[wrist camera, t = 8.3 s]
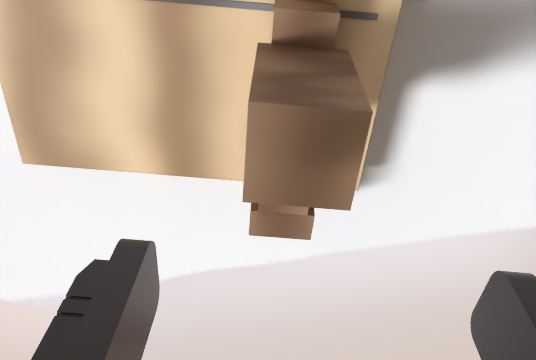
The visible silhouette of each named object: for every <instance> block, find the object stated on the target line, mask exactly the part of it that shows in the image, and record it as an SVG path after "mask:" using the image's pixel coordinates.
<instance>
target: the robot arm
mask: <svg viewBox="0 0 536 360" xmlns="http://www.w3.org/2000/svg"><path fill="white" fill-rule="evenodd" d="M158 299H159V276H158V266H157V256H156V247H155V243H154V242H153V241H143V240H131V239H121V240H120V241H119V242H118V244H117V245H116V248H115V250H114V252H113V254H112V256H111V258H110V260H109V261H108V260H96V259H95V260H94V261H93V262H91V263H90V264H89V265H88V266H87V267H86V268H85V269H84V270H82V271H81V272H80V273H79V274H78V275H77V276H76V278H75V280H74V281H73V283H72V285H71V287H70V289H69V291H68V293H67V294H66V299H64V300H63V302H62V304H61V305H60V307H59V309H58V311H57V316H55V317H54V319H53V320H52V322H51V324H50V326H49V328H48V330H47V331H46V333H45V335H44V337H43V339H42V340H41V342H40V344H39V346H38V348H37V350H36V352H35V353H34V355H33V357H32V359H31V360H141V358H142V355H143V352H144V348H145V345H146V342H147V339H148V336H149V333H150V329H151V326H152V323H153V320H154V317H155V313H156V310H157V305H158ZM471 333H472V337H473V340H474V342H475V345H476V347H477V350H478V352H479V355H480V357H481V360H536V277H535V276H534V275H533V274H529V273H518V272H506V271H496V272H494V273H493V274H492V276H491V277H490V279H489V281H488V283H487V285H486V287H485V289H484V291H483V293H482V295H481V297H480V299H479V301H478V303H477V305H476V307H475V309H474V310H473V313H472V317H471Z"/></svg>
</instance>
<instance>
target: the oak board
mask: <svg viewBox="0 0 536 360" xmlns="http://www.w3.org/2000/svg"><path fill="white" fill-rule="evenodd" d="M304 1H316V2H327V3H336V5H337V7H338V10H339V12H340V19H339V25H338V31H337V38H336V44H335V49H341V50H348V51H349V54H350V56H351V59H352V61H353V64H354V66H355V69H356V71H357V74H358V76H359V79H360V81H361V84H362V86H363V89H364V91H365V94H366V96H367V99H368V101H369V104H370V106H371V109H372V111H373V114H372V118H371V123H370V127H369V131H368V136H367V140H366V144H365V148H364V153H363V157H362V161H361V166H360V170H359V174H358V179H357V183H356V187H355V190H358V187H359V183H360V178H361V174H362V170H363V166H364V161H365V157H366V153H367V149H368V144H369V140H370V136H371V132H372V128H373V123H374V119H375V115H376V111H377V106H378V102H379V98H380V94H381V89H382V85H383V81H384V77H385V72H386V68H387V64H388V60H389V55H390V51H391V47H392V43H393V38H394V34H395V30H396V26H397V22H398V17H399V13H400V9H401V5H402V0H304ZM274 5H275V0H0V83H1V87H2V90H3V94H4V97H5V101H6V105H7V108H8V112H9V115H10V119H11V123H12V126H13V130H14V133H15V137H16V141H17V144H18V148H19V151H20V155H21V159H22V162H23V164H36V165H48V166H61V167H73V168H86V169H98V170H110V171H123V172H135V173H148V174H160V175H173V176H185V177H198V178H210V179H223V180H235V181H244V169H245V151H246V133H247V116H248V100H249V94H250V88H251V82H252V76H253V69H254V63H255V57H256V51H257V45H258V42H260V43H271V42H272V30H273V17H274Z"/></svg>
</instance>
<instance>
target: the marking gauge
mask: <svg viewBox="0 0 536 360" xmlns="http://www.w3.org/2000/svg"><path fill="white" fill-rule="evenodd" d="M339 19H340V12H339V10H338V7H337V5H336V3H327V2H316V1H304V0H275V5H274V17H273V30H272V42H271V43H260V42H258V45H257V51H256V57H255V63H254V69H253V76H252V82H251V88H250V94H249V100H248V116H247V133H246V151H245V169H244V187H243V202H249V203H251V213H250V227H249V235H254V236H266V237H279V238H292V239H305V240H310V239H311V233H312V227H313V222H314V208H325V209H337V210H350V209H351V205H352V200H353V196H354V192H355V187H356V183H357V179H358V174H359V170H360V166H361V161H362V157H363V153H364V148H365V144H366V140H367V136H368V131H369V127H370V123H371V118H372V114H373V111H372V109H371V106H370V104H369V101H368V99H367V96H366V94H365V91H364V89H363V86H362V84H361V81H360V79H359V76H358V74H357V71H356V69H355V66H354V64H353V61H352V59H351V56H350V54H349V51H348V50H341V49H335V44H336V38H337V31H338V25H339Z"/></svg>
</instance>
